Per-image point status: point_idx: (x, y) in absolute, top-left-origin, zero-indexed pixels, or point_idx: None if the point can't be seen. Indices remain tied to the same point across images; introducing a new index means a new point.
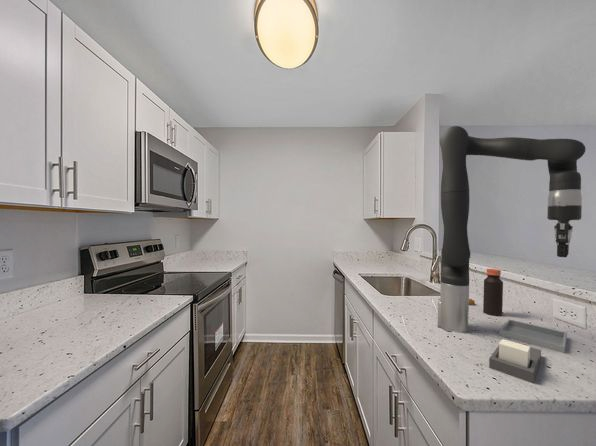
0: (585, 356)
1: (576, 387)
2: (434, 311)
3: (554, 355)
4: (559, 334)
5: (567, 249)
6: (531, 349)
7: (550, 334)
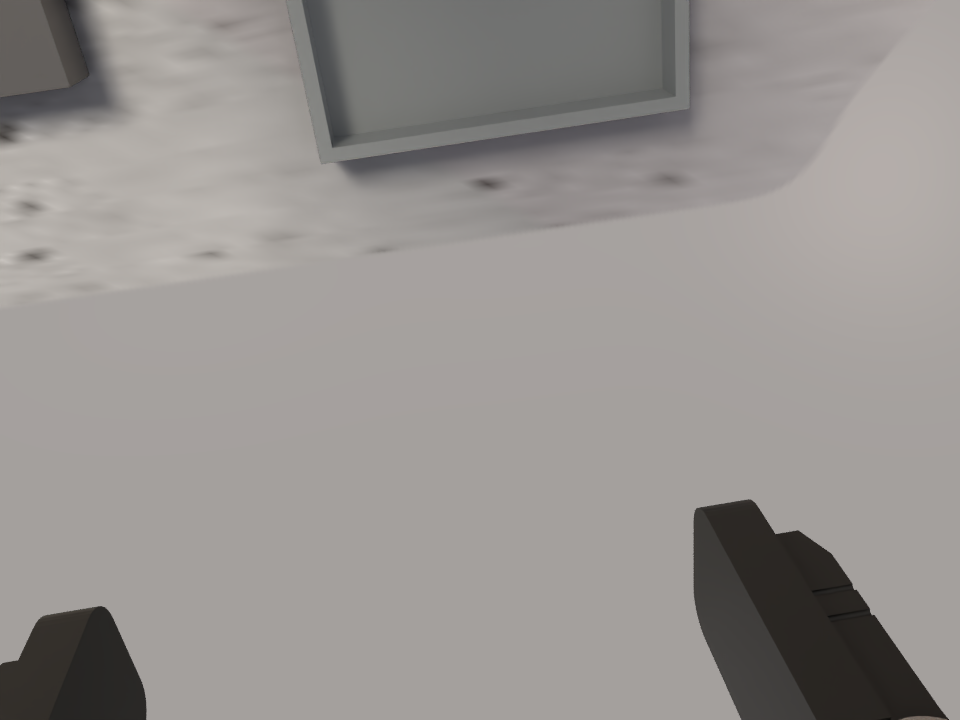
0: (426, 226)
1: None
2: None
3: (251, 113)
4: (666, 64)
5: (749, 712)
6: (3, 41)
7: (661, 6)
